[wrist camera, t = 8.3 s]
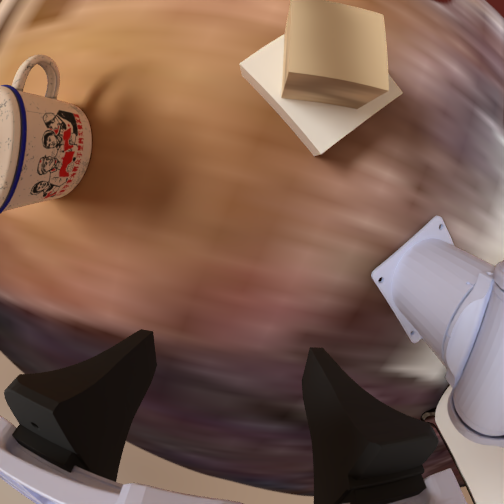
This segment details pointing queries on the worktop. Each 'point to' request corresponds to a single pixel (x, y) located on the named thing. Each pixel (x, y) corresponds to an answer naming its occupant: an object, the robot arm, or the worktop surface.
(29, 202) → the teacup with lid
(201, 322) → the worktop surface
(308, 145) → the ceramic plinth
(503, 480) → the coffee press
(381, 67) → the brass cube
